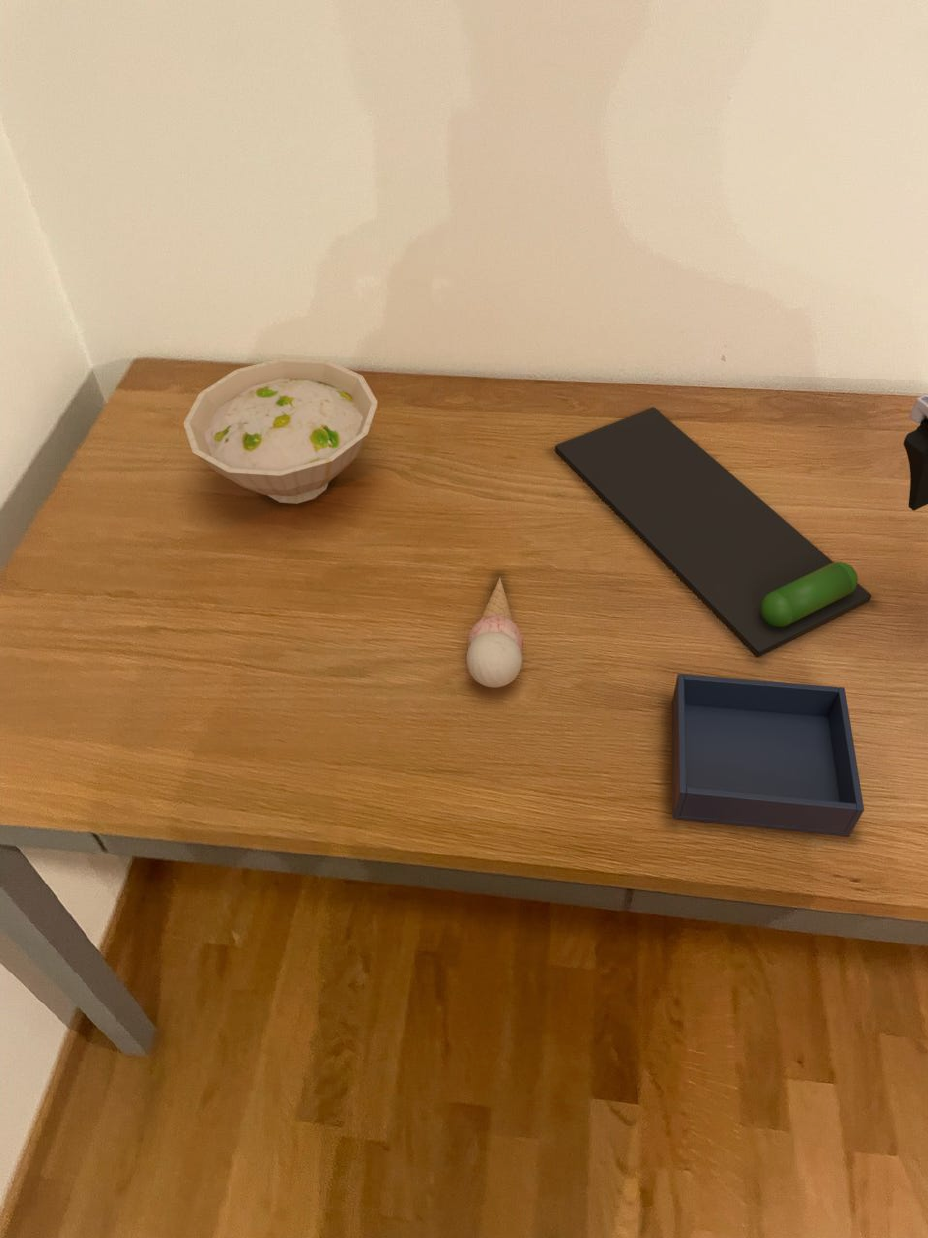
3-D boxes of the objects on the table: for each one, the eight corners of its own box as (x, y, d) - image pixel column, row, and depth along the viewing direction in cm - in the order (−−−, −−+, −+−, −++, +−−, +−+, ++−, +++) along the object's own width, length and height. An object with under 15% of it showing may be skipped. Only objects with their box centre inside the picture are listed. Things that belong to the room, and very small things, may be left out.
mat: (869, 601, 84) (872, 595, 84) (757, 657, 81) (759, 651, 80) (653, 412, 104) (653, 406, 103) (554, 451, 100) (554, 445, 99)
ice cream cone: (489, 603, 90) (481, 706, 78) (466, 567, 88) (454, 666, 76) (533, 586, 88) (531, 688, 76) (511, 548, 86) (505, 647, 74)
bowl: (381, 416, 105) (371, 339, 98) (393, 533, 93) (382, 454, 85) (211, 434, 104) (187, 357, 97) (199, 555, 92) (171, 477, 84)
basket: (831, 716, 76) (844, 687, 73) (849, 836, 69) (864, 810, 66) (671, 702, 78) (677, 673, 75) (672, 818, 71) (679, 792, 68)
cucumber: (836, 579, 85) (840, 550, 84) (863, 595, 83) (867, 566, 81) (751, 621, 83) (752, 592, 81) (776, 639, 80) (778, 609, 78)
